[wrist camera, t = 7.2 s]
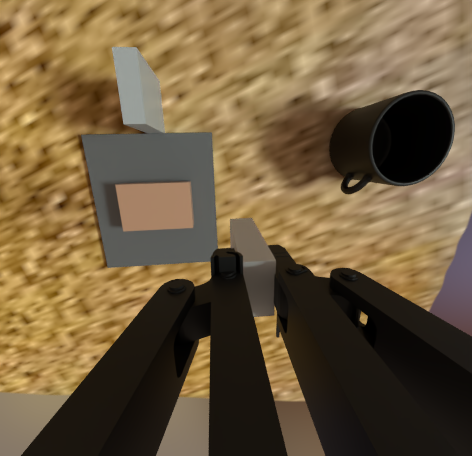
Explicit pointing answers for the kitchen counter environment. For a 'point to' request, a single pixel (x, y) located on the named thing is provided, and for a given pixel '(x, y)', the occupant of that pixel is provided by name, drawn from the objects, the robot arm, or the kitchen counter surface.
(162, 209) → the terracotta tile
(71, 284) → the kitchen counter surface
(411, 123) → the mug
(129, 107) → the grey tile
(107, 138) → the mat
